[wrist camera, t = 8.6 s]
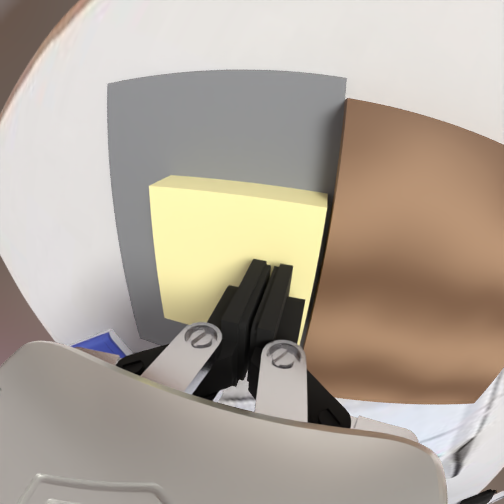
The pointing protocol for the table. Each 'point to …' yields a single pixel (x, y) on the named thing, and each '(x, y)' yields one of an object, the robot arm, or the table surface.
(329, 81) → the mat
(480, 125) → the table surface
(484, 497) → the carrying case or bag
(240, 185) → the sticky pad
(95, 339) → the hard drive
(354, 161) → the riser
